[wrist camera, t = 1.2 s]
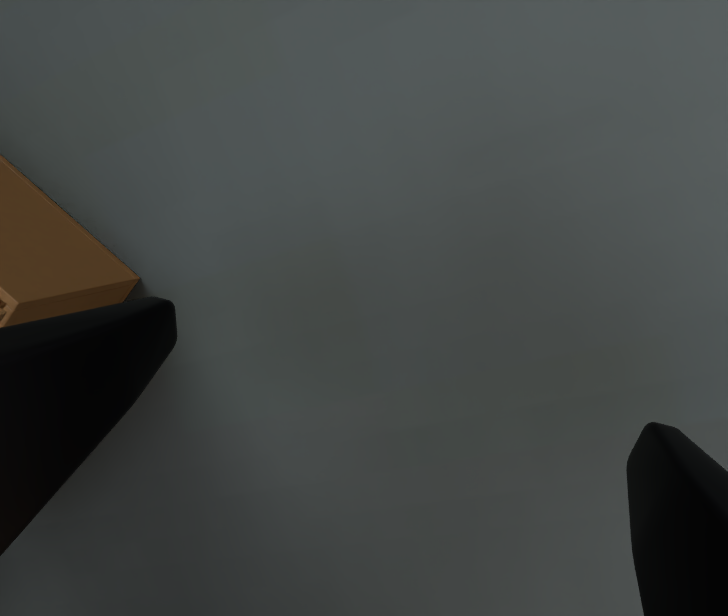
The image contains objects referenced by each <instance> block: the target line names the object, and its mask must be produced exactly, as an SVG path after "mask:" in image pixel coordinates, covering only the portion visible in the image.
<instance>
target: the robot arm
mask: <svg viewBox="0 0 728 616" xmlns="http://www.w3.org/2000/svg"><path fill="white" fill-rule="evenodd" d="M176 341H177V327H176V314H175V306H174V304H173V303H172V302H171V301H170V300H166V299H162V298H158V297H147V298H142V299H137V300H132V301H128V302H123V303H118V304H113V305H108V306H103V307H98V308H94V309H89V310H84V311H79V312H74V313H69V314H65V315H60V316H55V317H50V318H45V319H40V320H35V321H31V322H26V323H21V324H16V325H11V326H6V327H2V328H0V556H1V555H2V554H3V553H4V551H5V550H6V549H7V548H8V547H9V546H10V545H11V543H12V542H13V541H14V540H15V539H16V538H17V537H18V535H19V534H20V533H21V532H22V531H23V530H24V529H25V527H26V526H27V525H28V524H29V523H30V522H31V521H32V519H33V518H34V517H35V516H36V515H37V514H38V513H39V512H40V510H41V509H42V508H43V507H44V506H45V505H46V504H47V502H48V501H49V500H50V499H51V498H52V497H53V496H54V494H55V493H56V492H57V491H58V490H59V489H60V488H61V486H62V485H63V484H64V483H65V482H66V481H67V480H68V478H69V477H70V476H71V475H72V474H73V473H74V472H75V470H76V469H77V468H78V467H79V466H80V465H81V464H82V463H83V461H84V460H85V459H86V458H87V457H88V456H89V455H90V453H91V452H92V451H93V450H94V449H95V448H96V447H97V445H98V444H99V443H100V442H101V441H102V440H103V439H104V437H105V436H106V435H107V434H108V433H109V432H110V431H111V429H112V428H113V427H114V426H115V425H116V424H117V423H118V421H119V420H120V419H121V418H122V417H123V416H124V415H125V414H126V412H127V411H128V410H129V409H130V408H131V406H132V405H133V404H134V403H135V401H136V400H137V399H138V397H139V396H140V395H141V393H142V392H143V390H144V389H145V388H146V386H147V385H148V383H149V382H150V381H151V379H152V378H153V376H154V375H155V373H156V372H157V371H158V369H159V368H160V366H161V365H162V364H163V362H164V361H165V359H166V358H167V357H168V355H169V354H170V352H171V351H172V349H173V348H174V346H175V344H176ZM627 485H628V500H629V515H630V529H631V542H632V553H633V559H634V565H635V571H636V576H637V581H638V586H639V591H640V597H641V602H642V607H643V612H644V616H728V472H727V471H726V470H725V469H724V468H723V467H722V466H720V465H719V464H718V463H717V462H716V461H715V460H713V459H712V458H711V457H710V456H709V455H708V454H706V453H705V452H704V451H703V450H702V449H701V448H699V447H698V446H697V445H696V444H695V443H694V442H692V441H691V440H690V439H689V438H688V437H687V436H685V435H684V434H683V433H682V432H681V431H680V430H678V429H677V428H675V427H672V426H668V425H664V424H660V423H656V422H650V423H648V424H647V425H646V426H645V427H644V428H643V430H642V432H641V434H640V436H639V438H638V440H637V442H636V444H635V446H634V448H633V449H632V451H631V453H630V455H629V458H628V461H627Z"/></svg>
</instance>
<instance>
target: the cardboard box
mask: <svg viewBox="0 0 728 616" xmlns="http://www.w3.org/2000/svg"><path fill="white" fill-rule="evenodd" d="M139 279H140V278H139V277H138V276H137V275H136V274H135V273H134V272H133V271H132V270H130V269H129V268H128V267H127V266H126V265H125V264H124V263H122V262H121V261H120V260H119V259H118V258H117V257H116V256H115V255H113V254H112V253H111V252H110V251H109V250H108V249H107V248H105V247H104V246H103V245H102V244H101V243H100V242H99V241H98V240H96V239H95V238H94V237H93V236H92V235H91V234H90V233H89V232H87V231H86V230H85V229H84V228H83V227H82V226H81V225H79V224H78V223H77V222H76V221H75V220H74V219H73V218H72V217H70V216H69V215H68V214H67V213H66V212H65V211H64V210H63V209H61V208H60V207H59V206H58V205H57V204H56V203H55V202H53V201H52V200H51V199H50V198H49V197H48V196H47V195H46V194H44V193H43V192H42V191H41V190H40V189H39V188H38V187H36V186H35V185H34V184H33V183H32V182H31V181H30V180H29V179H27V178H26V177H25V176H24V175H23V174H22V173H21V172H20V171H18V170H17V169H16V168H15V167H14V166H13V165H12V164H10V163H9V162H8V161H7V160H6V159H5V158H4V157H3V156H1V155H0V308H1V309H3V310H5V311H6V312H7V313H6V314H5V316H4V318H3V319H2V321H1V322H0V328H2V327H6V326H11V325H16V324H21V323H26V322H31V321H35V320H40V319H45V318H50V317H55V316H60V315H65V314H69V313H74V312H79V311H84V310H89V309H94V308H98V307H103V306H108V305H113V304H118V303H123V301H124V300H125V298H126V297H127V296H128V294H129V293H130V291H131V290H132V289H133V287H134V286H135V284H136V283H137V282H138V280H139Z"/></svg>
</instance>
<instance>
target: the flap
mask: <svg viewBox="0 0 728 616" xmlns="http://www.w3.org/2000/svg"><path fill="white" fill-rule="evenodd" d="M6 313H7V312H6V311H5V310H3V309H1V308H0V322H1V321H2V319H3V318H4V316H5V314H6Z"/></svg>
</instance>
